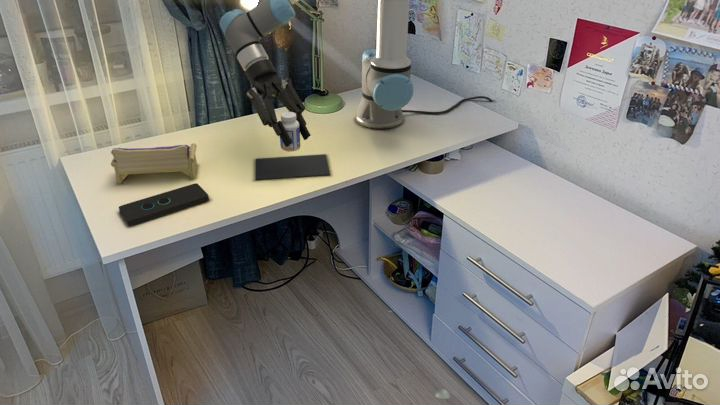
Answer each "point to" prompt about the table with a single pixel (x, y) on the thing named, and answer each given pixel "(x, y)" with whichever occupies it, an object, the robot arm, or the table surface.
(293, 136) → the pill bottle
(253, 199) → the table surface
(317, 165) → the mat
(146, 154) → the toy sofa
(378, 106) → the robot arm
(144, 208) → the smart home device
